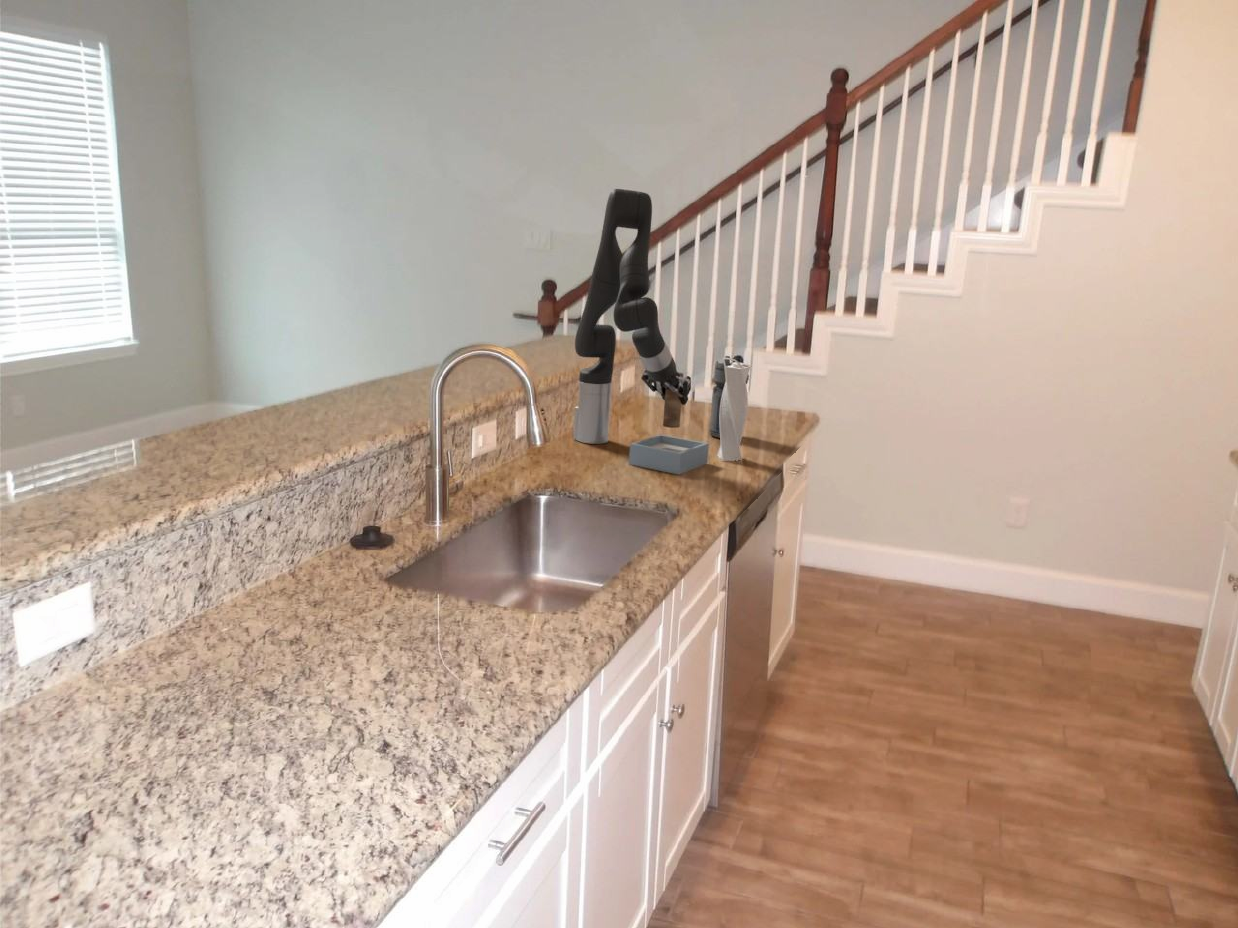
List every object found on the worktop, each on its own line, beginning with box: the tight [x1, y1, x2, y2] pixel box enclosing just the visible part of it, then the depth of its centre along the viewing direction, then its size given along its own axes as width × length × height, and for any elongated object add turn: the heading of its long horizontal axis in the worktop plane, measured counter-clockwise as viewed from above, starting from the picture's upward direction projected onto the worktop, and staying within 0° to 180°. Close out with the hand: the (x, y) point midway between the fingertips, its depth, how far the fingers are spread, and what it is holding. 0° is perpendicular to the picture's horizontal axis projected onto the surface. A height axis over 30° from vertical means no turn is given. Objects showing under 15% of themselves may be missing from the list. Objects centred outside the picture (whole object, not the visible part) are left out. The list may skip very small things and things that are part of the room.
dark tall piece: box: [709, 354, 750, 439], centre depth 293 cm, size 10×13×25 cm
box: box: [628, 434, 710, 476], centre depth 258 cm, size 15×16×6 cm
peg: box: [662, 371, 684, 429], centre depth 254 cm, size 4×4×14 cm
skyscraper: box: [716, 357, 751, 462], centre depth 264 cm, size 8×8×28 cm
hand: (676, 400), depth 256 cm, fingers closed on peg, 4 cm apart
